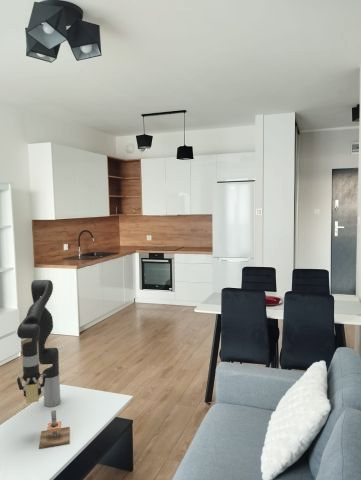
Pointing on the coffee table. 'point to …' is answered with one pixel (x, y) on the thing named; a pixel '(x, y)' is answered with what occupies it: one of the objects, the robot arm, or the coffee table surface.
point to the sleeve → (32, 393)
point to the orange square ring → (54, 427)
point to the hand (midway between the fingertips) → (32, 395)
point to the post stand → (54, 435)
